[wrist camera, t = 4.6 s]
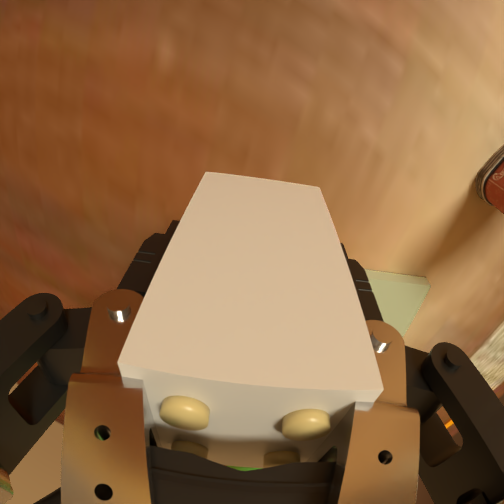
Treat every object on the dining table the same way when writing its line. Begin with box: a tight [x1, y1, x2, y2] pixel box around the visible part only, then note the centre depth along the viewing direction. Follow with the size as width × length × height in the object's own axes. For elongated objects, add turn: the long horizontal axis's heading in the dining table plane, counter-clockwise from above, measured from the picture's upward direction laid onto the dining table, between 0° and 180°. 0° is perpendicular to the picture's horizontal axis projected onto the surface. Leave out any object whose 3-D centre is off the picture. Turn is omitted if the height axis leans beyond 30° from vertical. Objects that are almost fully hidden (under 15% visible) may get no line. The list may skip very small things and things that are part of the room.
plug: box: [117, 172, 384, 468], centre depth 9 cm, size 4×4×8 cm
